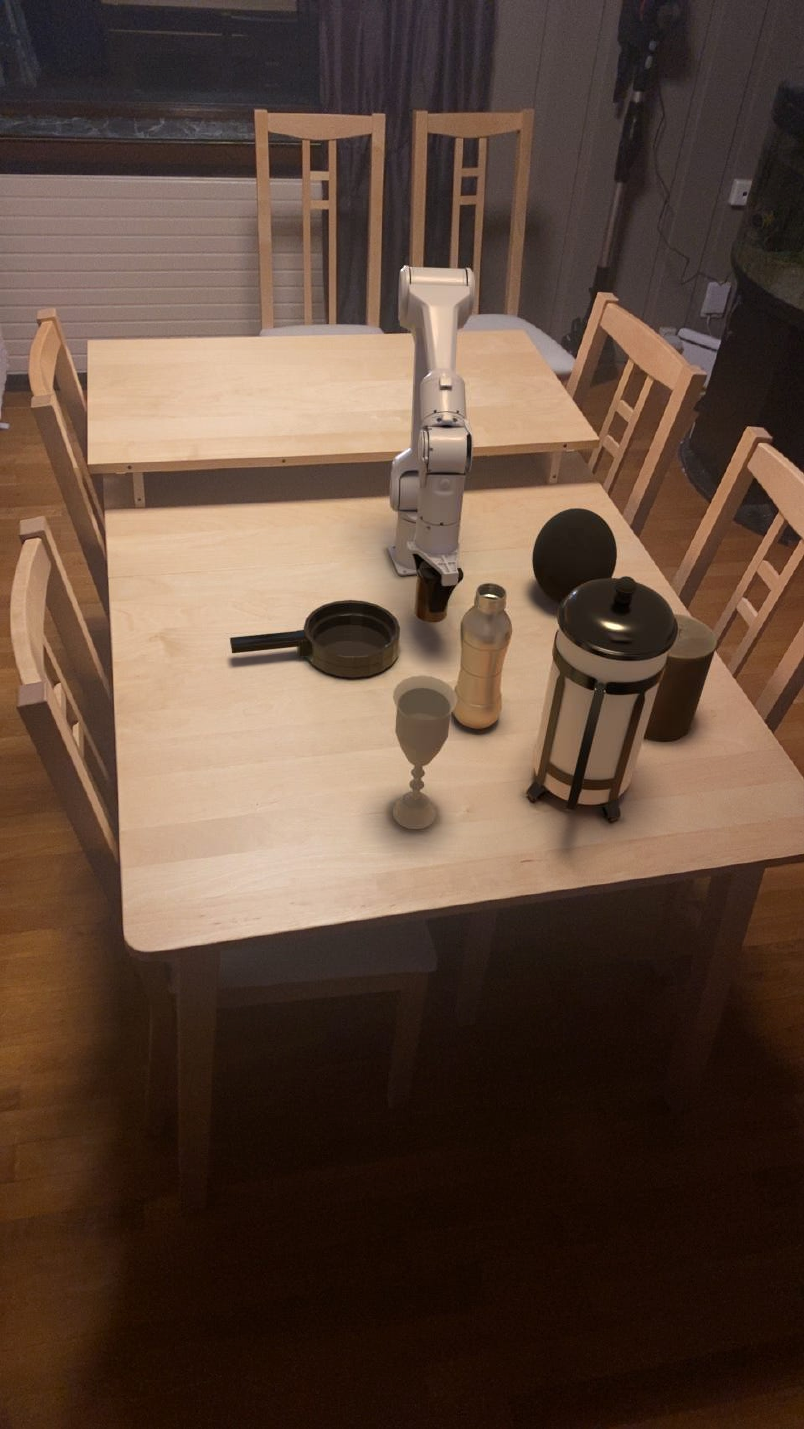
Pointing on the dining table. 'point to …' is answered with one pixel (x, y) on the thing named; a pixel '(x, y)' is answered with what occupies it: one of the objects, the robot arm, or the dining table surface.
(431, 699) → the chalice
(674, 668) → the pillar candle
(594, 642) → the coffee press
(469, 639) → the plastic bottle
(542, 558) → the decorative egg
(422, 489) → the robot arm
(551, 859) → the dining table surface
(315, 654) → the skillet
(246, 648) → the skillet handle
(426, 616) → the salt shaker
